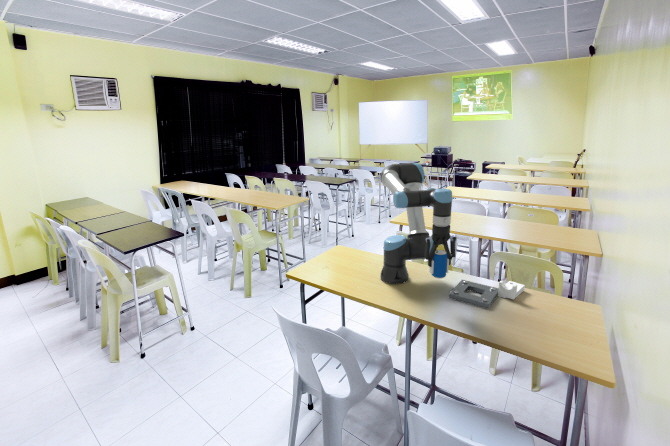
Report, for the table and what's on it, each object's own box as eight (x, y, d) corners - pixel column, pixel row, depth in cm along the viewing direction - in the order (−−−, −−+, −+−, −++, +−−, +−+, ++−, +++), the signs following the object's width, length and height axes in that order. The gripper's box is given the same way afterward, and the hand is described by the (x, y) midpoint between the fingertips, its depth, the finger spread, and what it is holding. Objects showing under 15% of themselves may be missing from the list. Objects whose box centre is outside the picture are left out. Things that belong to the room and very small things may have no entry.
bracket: (513, 301, 158) (515, 286, 156) (497, 296, 163) (499, 282, 161) (524, 291, 167) (525, 277, 164) (508, 287, 172) (510, 273, 170)
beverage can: (435, 271, 162) (437, 248, 158) (448, 275, 157) (450, 251, 154) (428, 276, 157) (429, 252, 154) (441, 280, 153) (443, 255, 149)
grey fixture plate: (448, 298, 163) (449, 292, 162) (461, 283, 176) (462, 278, 176) (488, 309, 152) (489, 303, 151) (499, 293, 166) (499, 287, 165)
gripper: (423, 228, 145) (421, 277, 152) (466, 225, 147) (462, 273, 154) (417, 223, 152) (415, 270, 159) (458, 220, 154) (455, 267, 161)
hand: (438, 272), depth 157 cm, fingers closed on beverage can, 6 cm apart
